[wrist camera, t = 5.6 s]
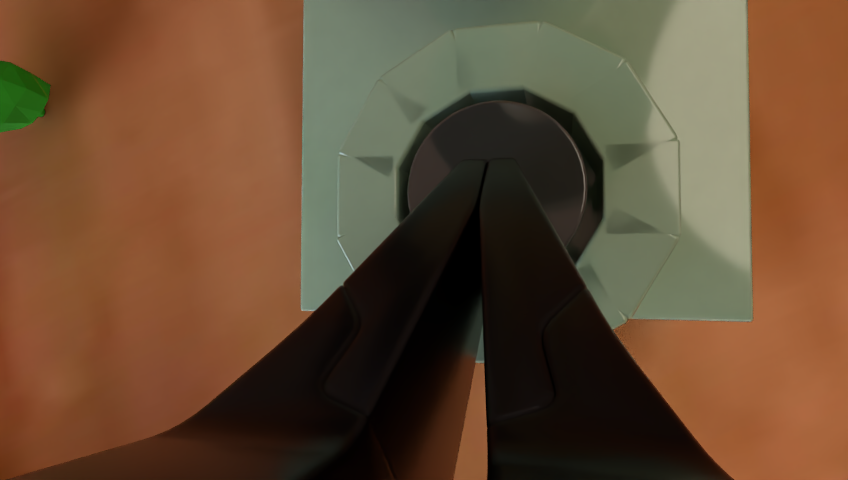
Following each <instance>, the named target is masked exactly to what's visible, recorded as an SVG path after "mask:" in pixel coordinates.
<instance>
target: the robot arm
mask: <svg viewBox="0 0 848 480" xmlns="http://www.w3.org/2000/svg"><path fill="white" fill-rule="evenodd" d="M482 326H483V343H484V368H485V393H486V418H487V428H488V429H487V446H488V474H487V480H734V479H733V478H732V477H730V476H729V475H728V474H727V473H726V472H725V471H724V470H723V469H722V468H721V467H720V466H719V465H718V464H717V463H716V462H715V461H714V460H713V459H712V458H711V457H710V456H709V455H708V454H707V452H706V451H705V450H704V449H703V448H702V446H701V445H700V444H699V443H698V441H697V440H696V439H695V438H694V436H693V435H692V434H691V433H690V431H689V430H688V429H687V427H686V426H685V425H684V424H683V422H682V421H681V420H680V418H679V417H678V416H677V415H676V413H675V412H674V411H673V409H672V408H671V407H670V406H669V404H668V403H667V402H666V400H665V399H664V398H663V397H662V395H661V394H660V393H659V392H658V390H657V389H656V388H655V386H654V385H653V384H652V383H651V381H650V380H649V379H648V377H647V376H646V375H645V374H644V372H643V371H642V370H641V368H640V367H639V366H638V365H637V363H636V362H635V360H634V359H633V358H632V356H631V355H630V354H629V352H628V351H627V349H626V348H625V347H624V345H623V344H622V343H621V341H620V340H619V338H618V337H617V336H616V334H615V333H614V331H613V329H612V328H611V326H610V324H609V323H608V321H607V320H606V318H605V316H604V315H603V313H602V311H601V310H600V308H599V306H598V305H597V303H596V301H595V299H594V298H593V296H592V294H591V292H590V291H589V290H588V289H587V286H586V284H585V282H584V280H583V278H582V277H581V275H580V273H579V271H578V270H577V268H576V266H575V264H574V262H573V261H572V259H571V257H570V255H569V253H568V252H567V250H566V248H565V246H564V245H563V243H562V241H561V239H560V237H559V236H558V234H557V232H556V230H555V228H554V227H553V225H552V223H551V221H550V219H549V218H548V216H547V214H546V212H545V211H544V209H543V207H542V205H541V203H540V202H539V200H538V198H537V196H536V194H535V193H534V191H533V189H532V187H531V186H530V184H529V182H528V180H527V178H526V177H525V175H524V173H523V171H522V169H521V168H520V166H519V164H518V162H517V161H516V159H514V158H492V159H490V160H489V161H487V160H486V159H464V160H462V161H460V162H459V163H458V164H457V165H456V166H455V167H454V168H453V169H452V170H451V171H450V172H449V173H448V174H447V175H446V177H445V178H444V179H443V180H442V181H441V182H440V183H439V184H438V185H437V186H436V187H435V188H434V189H433V190H432V191H431V192H430V193H429V194H428V195H427V196H426V197H425V198H424V199H423V200H422V201H421V202H420V203H419V204H418V206H417V207H416V208H415V209H414V210H413V211H412V212H411V213H410V214H409V215H408V216H407V217H406V218H405V219H404V220H403V221H402V222H401V223H400V224H399V225H398V226H397V227H396V228H395V229H394V230H393V231H392V232H391V233H390V234H389V236H388V237H387V238H386V239H385V240H384V241H383V242H382V243H381V244H380V245H379V246H378V247H377V248H376V249H375V250H374V251H373V252H372V253H371V254H370V255H369V256H368V257H367V258H366V259H365V260H364V261H363V262H362V263H361V264H360V266H359V267H358V268H357V269H356V270H355V271H354V272H353V273H352V274H351V275H350V276H349V277H348V278H347V279H346V280H345V281H344V282H343V286H342V285H341V286H339V287H338V288H337V289H336V290H335V291H334V292H333V293H332V294H331V295H330V296H329V297H328V298H327V299H326V300H325V301H324V302H323V303H322V304H321V305H320V306H319V307H318V308H317V309H316V310H315V311H314V312H313V313H312V314H311V315H310V316H309V317H308V318H307V319H306V320H305V321H304V322H303V323H302V324H301V325H300V326H299V327H297V328H296V329H295V330H294V331H293V332H292V333H291V334H290V335H288V336H287V337H286V338H285V339H284V340H283V341H282V342H281V343H279V344H278V345H277V346H276V347H275V348H274V349H273V350H271V351H270V352H269V353H268V354H267V355H265V356H264V357H263V358H262V359H261V360H260V361H258V362H257V363H256V364H255V365H254V366H252V367H251V368H250V369H249V370H248V371H247V372H245V373H244V374H243V375H242V376H241V377H239V378H238V379H237V380H236V381H235V382H234V383H232V384H231V385H230V386H229V387H228V388H226V389H225V390H224V391H223V392H222V393H221V394H219V395H218V396H217V397H216V398H215V399H213V400H212V401H211V402H210V403H209V404H208V405H206V406H205V407H204V408H202V409H201V410H200V411H199V412H197V413H196V414H195V415H193V416H192V417H190V418H189V419H187V420H186V421H184V422H183V423H181V424H179V425H177V426H175V427H173V428H172V429H170V430H167V431H165V432H163V433H160V434H158V435H155V436H152V437H150V438H147V439H143V440H140V441H136V442H133V443H130V444H126V445H123V446H119V447H116V448H112V449H109V450H106V451H102V452H99V453H95V454H92V455H89V456H85V457H82V458H78V459H75V460H71V461H68V462H65V463H61V464H58V465H54V466H51V467H48V468H44V469H41V470H37V471H34V472H30V473H27V474H24V475H20V476H17V477H13V478H10V479H7V480H453V478H454V472H455V467H456V462H457V457H458V451H459V446H460V441H461V436H462V431H463V425H464V420H465V415H466V410H467V404H468V399H469V394H470V389H471V383H472V378H473V373H474V368H475V362H476V357H477V352H478V347H479V342H480V336H481V331H482Z"/></svg>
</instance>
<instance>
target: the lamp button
mask: <svg viewBox="0 0 848 480" xmlns="http://www.w3.org/2000/svg"><path fill="white" fill-rule="evenodd" d="M492 158H514V159H516V161H517V162H518V164H519V166H520V168H521V169H522V171H523V173H524V175H525V177H526V178H527V180H528V182H529V184H530V186H531V187H532V189H533V191H534V193H535V194H536V196H537V198H538V200H539V202H540V203H541V205H542V207H543V209H544V211H545V212H546V214H547V216H548V218H549V219H550V221H551V223H552V225H553V227H554V228H555V230H556V232H557V234H558V236H559V237H560V239H561V241H562V243H563V245H564V246H565V248H566V247H567V246H568V245H569V243H570V242H571V240H572V239H573V237H574V236H575V234H576V232H577V230H578V228H579V226H580V224H581V221H582V218H583V215H584V213H585V208H586V203H587V196H588V180H587V172H586V168H585V163H584V160H583V158H582V155H581V152H580V150H579V148H578V146H577V144H576V143H575V141H574V139H573V138H572V137H571V135H570V134H569V133H568V131H567V130H566V129H565V128H564V127H563V126H562V125H561V124H560V123H559V122H558V121H556V120H555V119H554V118H553V117H551V116H550V115H548V114H547V113H545V112H543V111H542V110H540V109H538V108H535V107H533V106H530V105H528V104H524V103H520V102H515V101H508V100H492V101H484V102H479V103H476V104H472V105H469V106H466V107H464V108H461V109H459V110H458V111H456V112H454V113H452V114H450V115H449V116H448V117H446V118H445V119H443V120H442V121H441V122H440V123H439V124H437V125H436V126H435V127H434V128H433V129H432V130H431V132H430V133H429V134H428V135H427V136H426V138H425V139H424V140H423V142H422V144H421V145H420V147H419V148H418V151H417V153H416V155H415V157H414V159H413V162H412V165H411V168H410V173H409V178H408V188H407V196H408V206H409V212H410V213H411V212H412V211H413V210H414V209H415V208H416V207H417V206H418V204H419V203H420V202H421V201H422V200H423V199H424V198H425V197H426V196H427V195H428V194H429V193H430V192H431V191H432V190H433V189H434V188H435V187H436V186H437V185H438V184H439V183H440V182H441V181H442V180H443V179H444V178H445V177H446V175H447V174H448V173H449V172H450V171H451V170H452V169H453V168H454V167H455V166H456V165H457V164H458V163H459V162H460V161H462V160H464V159H486V160H487V161H489V160H490V159H492Z"/></svg>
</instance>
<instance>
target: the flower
mask: <svg viewBox="0 0 848 480" xmlns="http://www.w3.org/2000/svg"><path fill="white" fill-rule="evenodd" d="M50 86H51V85H49V84H48V83H46V82H45V81H43V80H41V79H40V78H38V77H37V76H35V75H33V74H32V73H30V72H28V71H26V70H24V69H22V68H20V67H18V66H16V65H14V64H12V63H10V62H5V61H0V132H5V131H11V130H16V129H21V128H23V127H25V126H27V125H29V124H31V123H33V122H34V121H35V120H36V118H37V117H38V116H39V117H42V116H44V114H45V110H44V107H45V105H46V103H47V101H48V99H49V93H50Z"/></svg>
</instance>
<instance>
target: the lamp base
mask: <svg viewBox="0 0 848 480" xmlns="http://www.w3.org/2000/svg"><path fill="white" fill-rule="evenodd" d="M492 100H508V101H515V102H520V103H524V104H528V105H530V106H533V107H535V108H538V109H540V110H542V111H543V112H545V113H547V114H548V115H550V116H551V117H553V118H554V119H555V120H556V121H558V122H559V123H560V124H561V125H562V126H563V127H564V128H565V129H566V130H567V131H568V133H569V134H570V135H571V137H572V138H573V139H574V141H575V143H576V144H577V146H578V148H579V150H580V152H581V155H582V158H583V160H584V163H585V168H586V172H587V180H588V196H587V203H586V208H585V213H584V215H583V218H582V221H581V224H580V226H579V228H578V230H577V232H576V234H575V236H574V237H573V239H572V240H571V242H570V243H569V245H568V246H567V247H566V250H567V252H568V253H569V255H570V257H571V259H572V261H573V262H574V264H575V266H576V268H577V270H578V271H579V273H580V275H581V277H582V278H583V280H584V282H585V284H586V286H587V289H588V290H589V291H590V292H591V294H592V296H593V298H594V299H595V301H596V303H597V305H598V306H599V308H600V310H601V311H602V313H603V315H604V316H605V318H606V320H607V321H608V323H609V324H610V326H611V328H612V329H613V330H614V329H616V328H618V327H620V326H621V325H623V324H625V323H626V322H627V321H628V319H648V320H688V321H728V322H751V321H752V320H753V285H752V226H751V167H750V108H749V49H748V0H304V22H303V126H302V229H301V310H303V311H315V310H316V309H317V308H318V307H319V306H320V305H321V304H322V303H323V302H324V301H325V300H326V299H327V298H328V297H329V296H330V295H331V294H332V293H333V292H334V291H335V290H336V289H337V288H338V287H339V286H341V285H342V286H343V282H344V281H345V280H346V279H347V278H348V277H349V276H350V275H351V274H352V273H353V272H354V271H355V270H356V269H357V268H358V267H359V266H360V264H361V263H362V262H363V261H364V260H365V259H366V258H367V257H368V256H369V255H370V254H371V253H372V252H373V251H374V250H375V249H376V248H377V247H378V246H379V245H380V244H381V243H382V242H383V241H384V240H385V239H386V238H387V237H388V236H389V234H390V233H391V232H392V231H393V230H394V229H395V228H396V227H397V226H398V225H399V224H400V223H401V222H402V221H403V220H404V219H405V218H406V217H407V216H408V215H409V214H410V212H409V206H408V196H407V188H408V178H409V173H410V168H411V165H412V162H413V159H414V157H415V155H416V153H417V151H418V148H419V147H420V145H421V144H422V142H423V140H424V139H425V138H426V136H427V135H428V134H429V133H430V132H431V130H432V129H433V128H434V127H435V126H436V125H437V124H439V123H440V122H441V121H442V120H443V119H445V118H446V117H448V116H449V115H450V114H452V113H454V112H456V111H458V110H459V109H461V108H464V107H466V106H469V105H472V104H476V103H479V102H484V101H492ZM475 363H484V343H483V326H482V331H481V336H480V342H479V347H478V352H477V357H476V362H475Z"/></svg>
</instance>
